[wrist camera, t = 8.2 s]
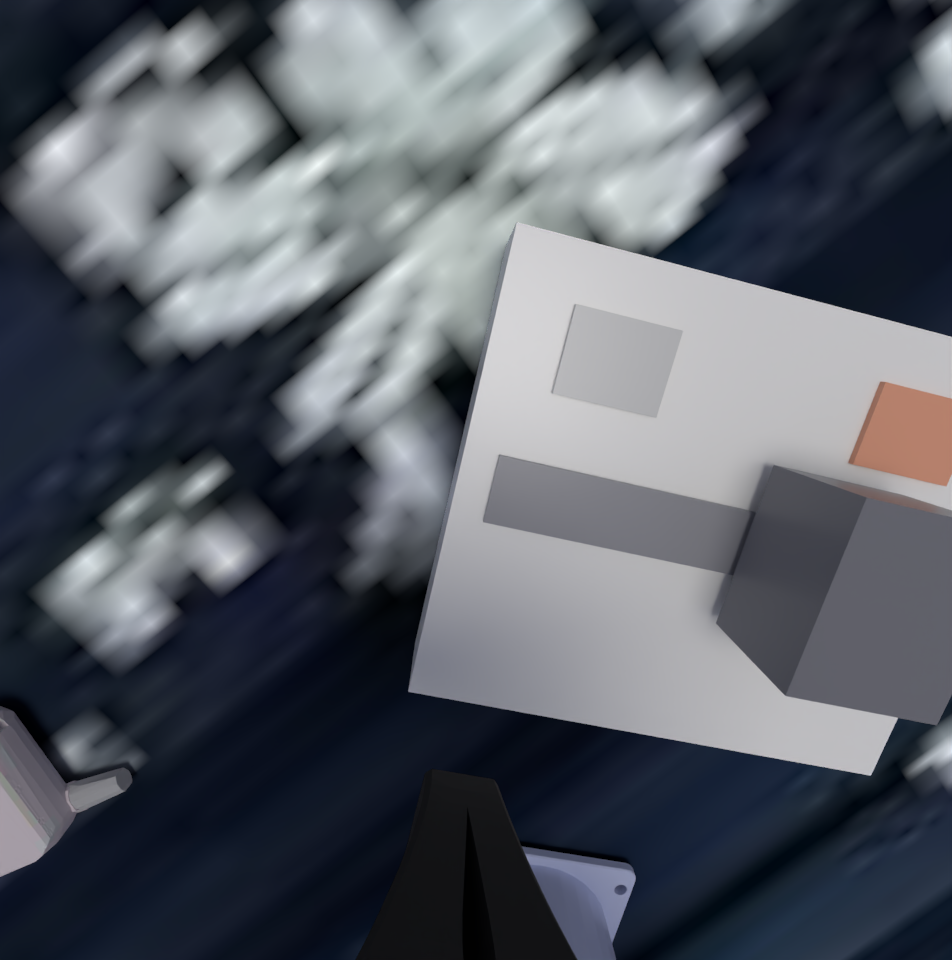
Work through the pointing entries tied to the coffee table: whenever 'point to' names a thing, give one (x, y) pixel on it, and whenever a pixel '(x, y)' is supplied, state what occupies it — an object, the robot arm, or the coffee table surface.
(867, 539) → the switch lever
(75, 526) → the coffee table surface
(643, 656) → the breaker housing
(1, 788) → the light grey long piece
